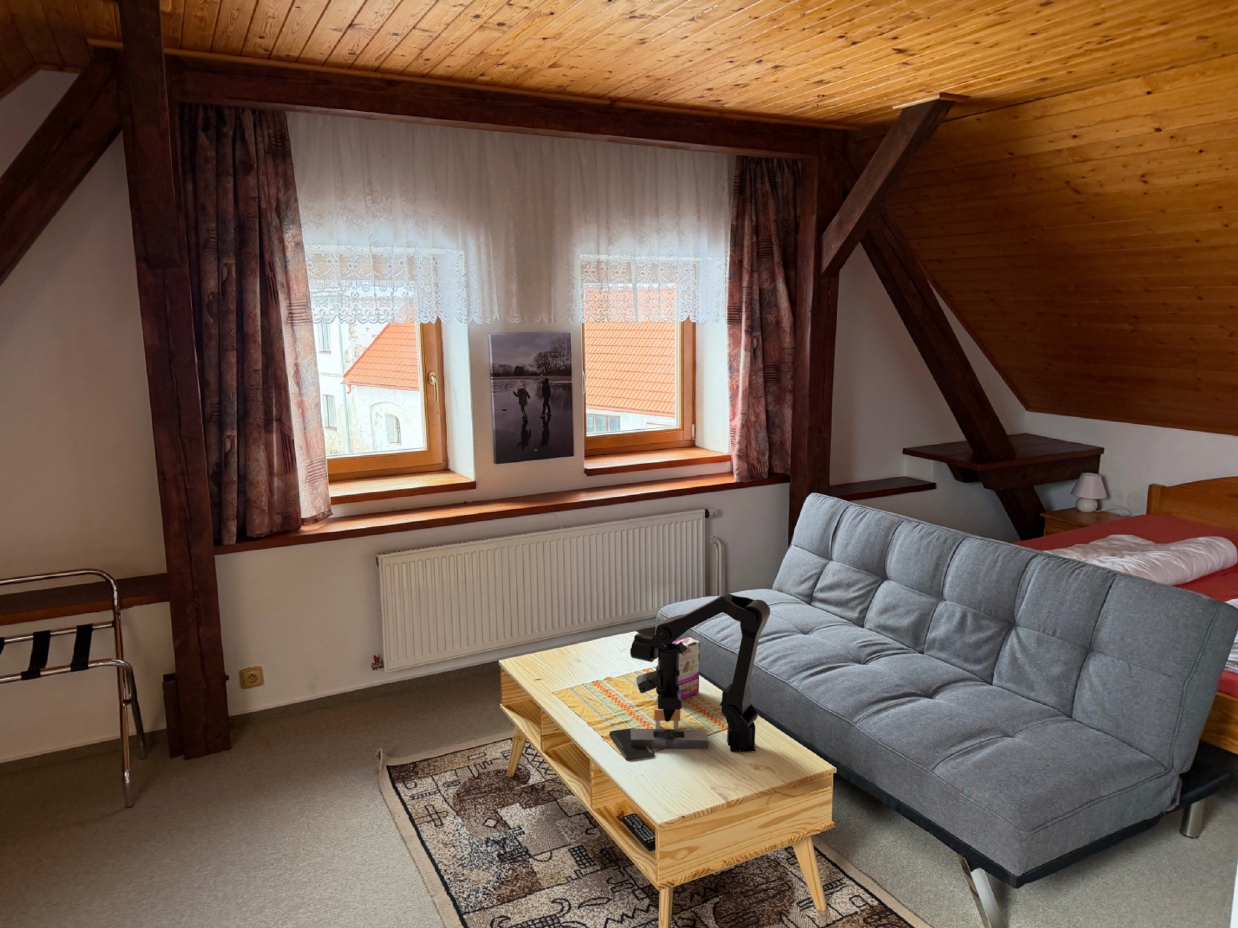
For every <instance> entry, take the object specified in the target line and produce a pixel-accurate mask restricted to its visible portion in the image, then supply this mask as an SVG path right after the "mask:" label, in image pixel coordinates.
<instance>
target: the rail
mask: <svg viewBox="0 0 1238 928" xmlns="http://www.w3.org/2000/svg"><path fill="white" fill-rule="evenodd" d="M630 739H631V746H639V747H649V746H650V747H651V749H652V750H656V749H657V750H665V749H666V750H709V738H708V732H707V729H700V728H699V729H698V728H697V729H693V728H691V729H690V728H689V729H687V728H678V729H674V728H660V729H655V728H636V729H631V730H630Z"/></svg>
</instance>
